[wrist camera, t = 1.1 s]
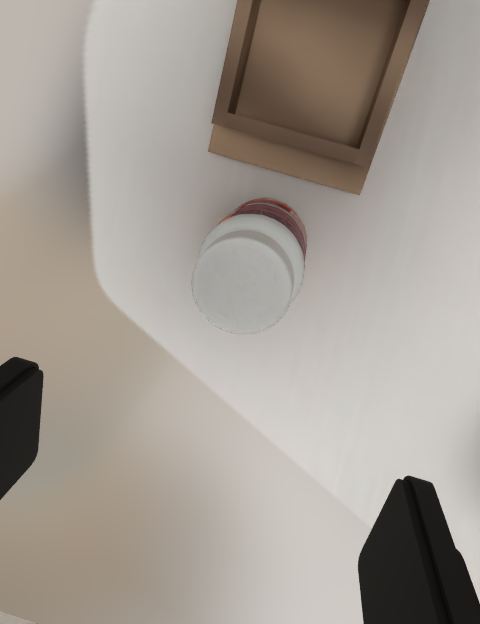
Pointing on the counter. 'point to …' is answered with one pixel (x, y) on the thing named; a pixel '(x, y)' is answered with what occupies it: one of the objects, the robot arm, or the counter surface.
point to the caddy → (312, 84)
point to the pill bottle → (250, 267)
